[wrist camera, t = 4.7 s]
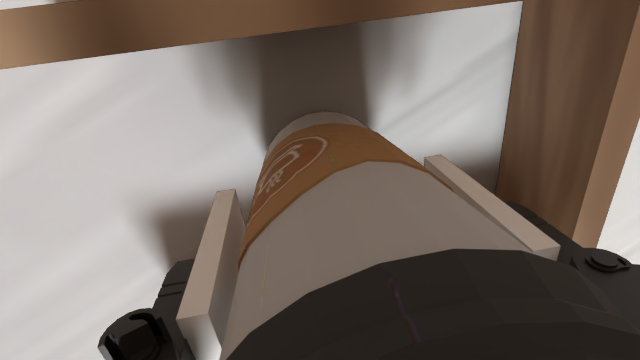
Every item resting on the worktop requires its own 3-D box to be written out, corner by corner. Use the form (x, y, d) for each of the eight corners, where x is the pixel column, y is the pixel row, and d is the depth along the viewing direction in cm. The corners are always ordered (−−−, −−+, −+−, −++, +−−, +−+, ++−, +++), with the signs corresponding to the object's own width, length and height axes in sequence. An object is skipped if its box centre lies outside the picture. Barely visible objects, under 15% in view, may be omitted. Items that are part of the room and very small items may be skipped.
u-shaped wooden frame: (179, 297, 22) (148, 386, 17) (62, 20, 14) (-66, 18, 9) (508, 238, 23) (577, 302, 18) (558, -42, 16) (703, -76, 10)
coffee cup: (323, 51, 15) (718, 248, 2) (424, 160, 18) (830, 520, 5) (211, 172, 17) (-8, 720, 4) (321, 252, 20) (421, 694, 7)
